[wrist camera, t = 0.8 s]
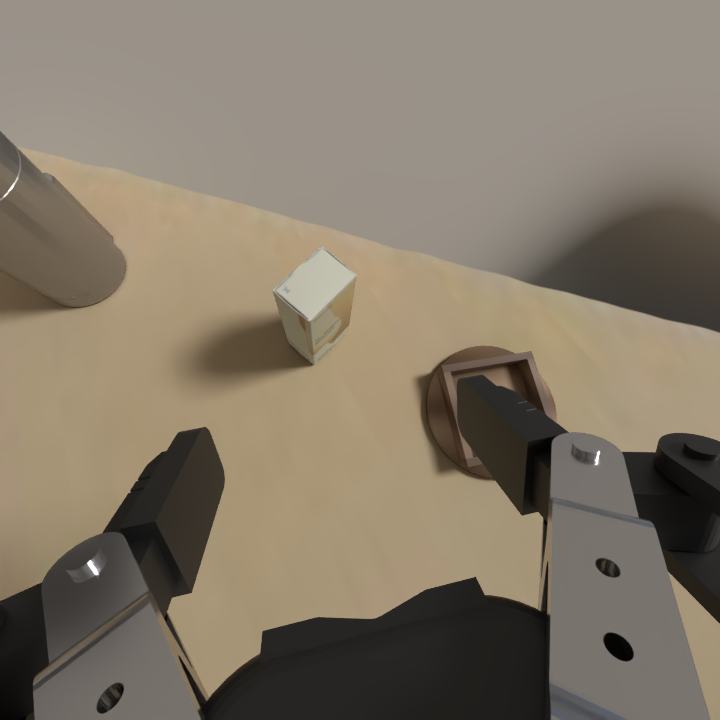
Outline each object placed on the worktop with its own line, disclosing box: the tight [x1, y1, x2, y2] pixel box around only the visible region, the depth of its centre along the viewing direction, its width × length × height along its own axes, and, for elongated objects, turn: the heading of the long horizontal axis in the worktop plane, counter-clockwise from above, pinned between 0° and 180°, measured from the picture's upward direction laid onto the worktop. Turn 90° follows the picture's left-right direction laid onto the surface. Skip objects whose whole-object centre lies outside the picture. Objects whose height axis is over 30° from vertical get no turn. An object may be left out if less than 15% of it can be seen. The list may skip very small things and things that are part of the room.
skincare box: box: [273, 247, 357, 364], centre depth 34 cm, size 6×4×12 cm
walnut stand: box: [426, 346, 557, 478], centre depth 37 cm, size 15×15×3 cm
